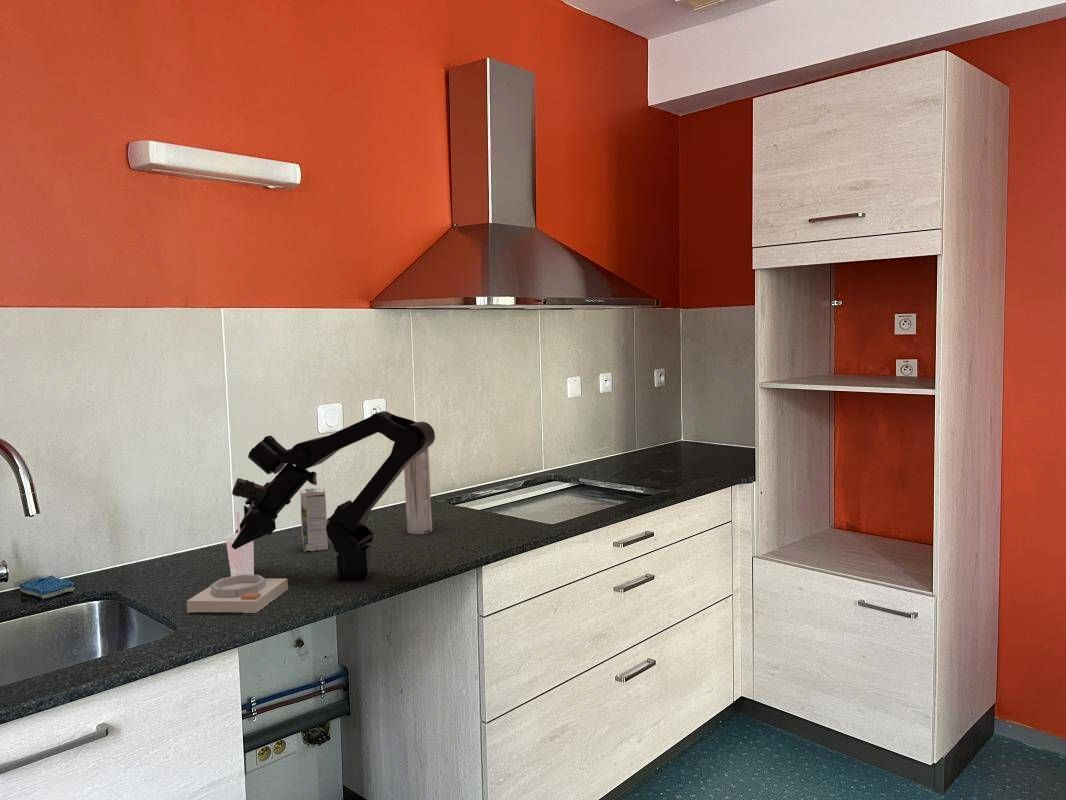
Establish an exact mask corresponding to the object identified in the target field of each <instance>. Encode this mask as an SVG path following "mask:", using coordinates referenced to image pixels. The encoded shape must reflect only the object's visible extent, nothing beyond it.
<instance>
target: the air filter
mask: <svg viewBox="0 0 1066 800" xmlns="http://www.w3.org/2000/svg"><path fill="white" fill-rule="evenodd" d="M403 472H404V473H403V474H404V492H405V495H404V496H405V510H406V529H407V533H408V534H409V533H410V534H409V535H426V534H429V532H430V533H431V532H432V531H433V521H432V519H433V518H432V517H433V516H432V502H431V480H430V477H431V476H430V457H429V447H428V448H427V449H426V450H425V451H424V452H422V453H421V454H420V455H419V456H417V457H416V458H415V459H413V460H412V461H411V462H410V463H408V464H407V466H406V467H405V468H404V469H403ZM425 533H426V534H425Z"/></svg>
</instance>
